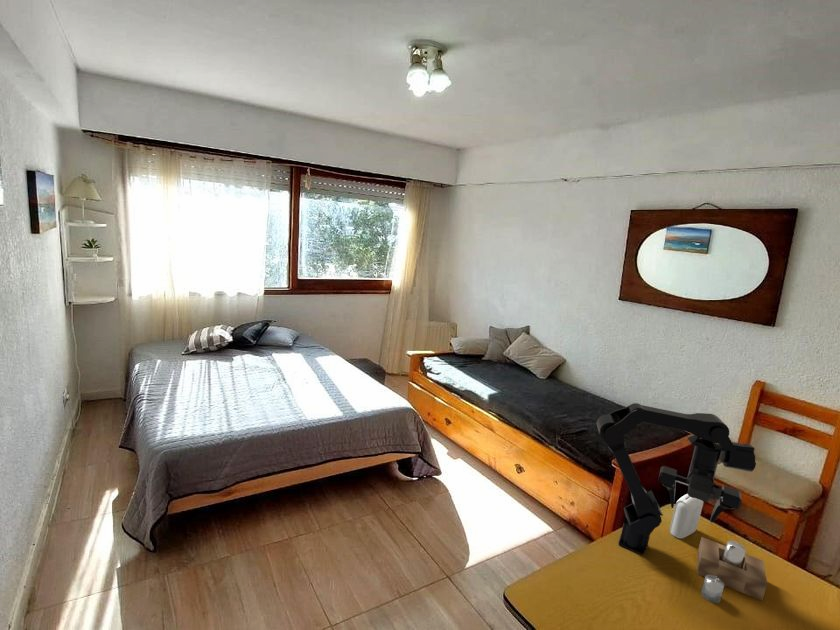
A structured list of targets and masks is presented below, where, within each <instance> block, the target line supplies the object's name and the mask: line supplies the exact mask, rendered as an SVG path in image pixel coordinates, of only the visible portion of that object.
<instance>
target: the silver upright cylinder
mask: <svg viewBox="0 0 840 630" xmlns="http://www.w3.org/2000/svg"><path fill="white" fill-rule="evenodd" d="M725 546H726V548H725V552H724V555H723V558H722V561H723V562H726V563H728V564H731V565H733V566H736V567H738V568H740V567H741V564H742V560H743V557H744V554H746V551H747V550H746V548H745V547H744V546H743V545H742V544H741V543H740V542H737V541H735V540H727V542H726V545H725Z"/></svg>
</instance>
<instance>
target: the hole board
mask: <svg viewBox="0 0 840 630" xmlns="http://www.w3.org/2000/svg"><path fill="white" fill-rule="evenodd" d="M725 548H726V545H723V544H721V543H719V542H716V541H713V540H711V539H708V538H705V537H703V536H701V538H700V541H699V545H698V549H697V561H696V562H697V563H696V564H697V565H696V567H697V568H696V573H697V575H700V576H702V577H704V578H705V576H706V575H713V576H716V577H718V578H719V579H721V580H722V581H723V583H724V587H725V586H726V587H727V588H730V589H732V590H736V591H737V592H740V593H743V594H744V595H747V596H749V597H752V598H754V599H755V600H759V601H760V602H762V601H763V600H764V596H765V592H766V590H767V586H768V580H767V579H768V578H767V574H766V569H765V564H764V560H762V559H759V558H758V557H755V556H753V555H749V554H747V553H745V554H744V557H743V560H742V564H741V567H740V568H738V567H736V566H733V565H731V564H728V563H726V562H723V561H722V558H723V555H724V552H725Z"/></svg>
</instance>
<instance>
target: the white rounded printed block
mask: <svg viewBox="0 0 840 630" xmlns="http://www.w3.org/2000/svg"><path fill="white" fill-rule="evenodd" d="M703 506H704V502H703V501H702V500H699V499H697V498H692V497H690V496H689V495H688V493H686V494H684V495H683V496H681V497H680V498H679V499H677V501H676V503H675V506H674V509H673V514H672V518H671V522H670V526H669V527H670V528H669V532H670V534H671V535H672V536H673V537H675V538H677V539H685V538H687V537H688V536H690V535H692V534H694V533H695V532H696V531H697V528H698V525H699V521H700V518H701V513H702V509H703Z"/></svg>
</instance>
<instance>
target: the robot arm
mask: <svg viewBox="0 0 840 630" xmlns="http://www.w3.org/2000/svg"><path fill="white" fill-rule="evenodd" d="M641 423H645V424H648V425H654V426H657V427H658V426H659V427H664V428H668V429H673V430H678V431H683V432H685V433H690V434H692V435H690V436H688V437H687V441H688V442H689V443H690V444H691V446H694V448H693V449H694V450H693V453H692V458H691V462H690V466H689V470H688V474H687V477H686V476H685V477H684V476H682V475H680V474H677V473H678V470H677V469H675V468H672V467H669V466H666V465H663V466H660V470H659V475H658V479H657V481H658V482H659V483H661V484H662V485H663V487H665V488H666V489H667V491H668V493H669V500H670V506H671V508H672V509H674V507H675V506H674V505H675V498H676V497H675V496H676V487H677V486H676V484H677V483H678V484H681V485H684V486H687V494H688V495H689V496H690V497H692V498H697V499H699V500H702V501H703V503H708V502H710V500H714V501H716V502H715V505H714V506H713V509H712V512H711V516H710V519H709V520H710V523H713V522H714V521H715V520H716V519H717V518H718V516H719V515H720V514H721V513H722V512H723V511H725V510H727V509H728V510H733V509H737V510H740V509H741V505H742V501H743V498H742V493H741V491H740V490H739V489H737V488H733V487H730V486H728V485H722V486H721V485H718V484H717V483H715V475H716V472H717V468H718V464H719V462H720V463H722V465H723V466H724V467H726V468H729V469H735V470H740V471H745V472H749V473H752V472H753V471H754V470H755V468H756V466H757V463H756V455H755V450H756V449H755V447H754V446H753V445H752V444H748V443H739V442H735V441H732V439H731V438H730V437H729V436H730V428H729V427H728V425H727V424H725V422H724V421H722V419H721V418H720V417H718V416H717V415H716V414H714V413H705V412H704V413H703V412H702V413H701V412H695V413H682V412H676V411H672V410H668V409H662V408H658V407H653V406H649V405H648V406H647V405H644V404H641V403H636V402H633V403H631V404H628V405H627V406H626V407H622V408H619V409H616V410H613V411H611V412H610V413H606V414H605V413H604V414H602V415H600V416H599V417H598V419H597V420H596V427H597V429H598V430H597V431H598V433H599V435H600V438H601V440H602V441H603V442H604V444H605V446H606V447H608V449H609V450H610V451H611V453H612V454H613V456H614V459H615V461H616V463H617V465H618V468H619V470H620V471H621V474H622V477H623V478H624V480H625V483H626V486H627V488H628V490H629V492H630V495H631V500H632V501H631V502H632V503H629V504H628V505H626V506H624V507H623V511H624V515H625V517H624V519H623V520H624V521H623V525H622V529H621V534H620V536H619V541H618V543H617V544H618V545H619V546H620V547H622V548H625V549H628V550H630V551H632V552H634V553H637V554H639V555H642V556H643V555H644V554H645V551H647V550H648V545H649V542H650V536H651V534H652V533H653V531H654V530H655V529H656V528H658V527H659V526H660V525H661V524H662V516H664V515H663V512H662V510H661V508H660V505H659V504H658V501H657V499H656V497H655V495H654V492H653V490H649V491H647V490H646V489H645V488H644V486H643V484H642V482H641V480H640V477H639V475H638V473H637V471H636V469H635V466H634V464H633V462H632V459H631V458H630V455H629V453H628V451H627V447H626V441H625V437H624V436H625V435H628V434H630V432H631V431H632V430H633V429H635V428H636V427H637V426H638V425H640V424H641Z"/></svg>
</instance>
